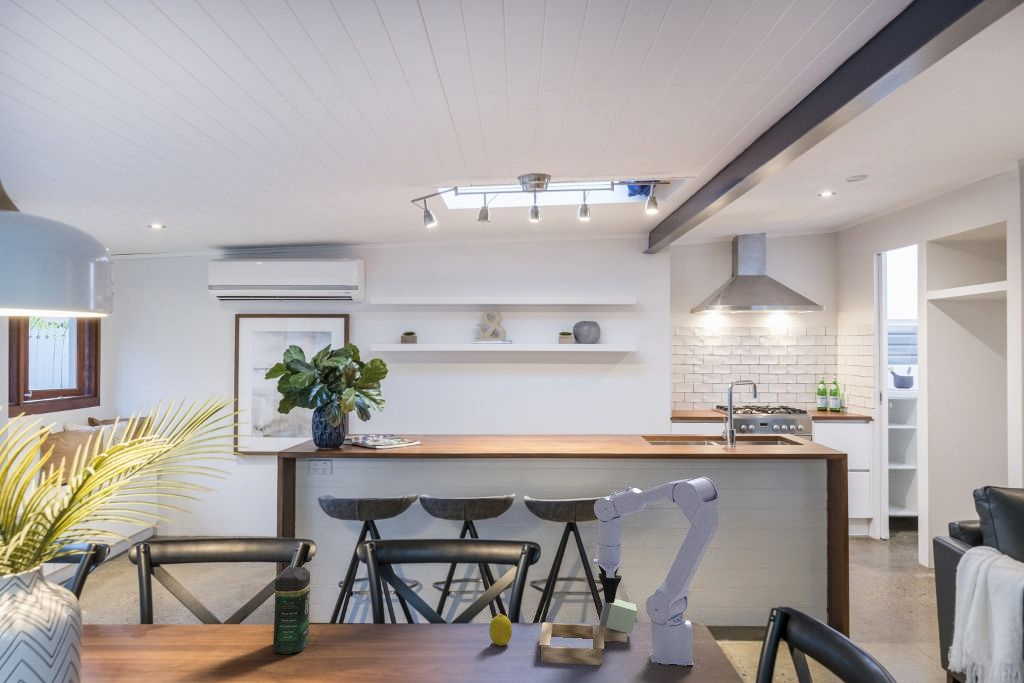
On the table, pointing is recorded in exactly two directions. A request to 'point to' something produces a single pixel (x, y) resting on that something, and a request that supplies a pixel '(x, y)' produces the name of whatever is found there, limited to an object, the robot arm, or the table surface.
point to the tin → (618, 616)
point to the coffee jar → (291, 610)
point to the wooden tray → (569, 653)
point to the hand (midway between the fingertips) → (609, 596)
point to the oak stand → (614, 635)
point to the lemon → (500, 630)
